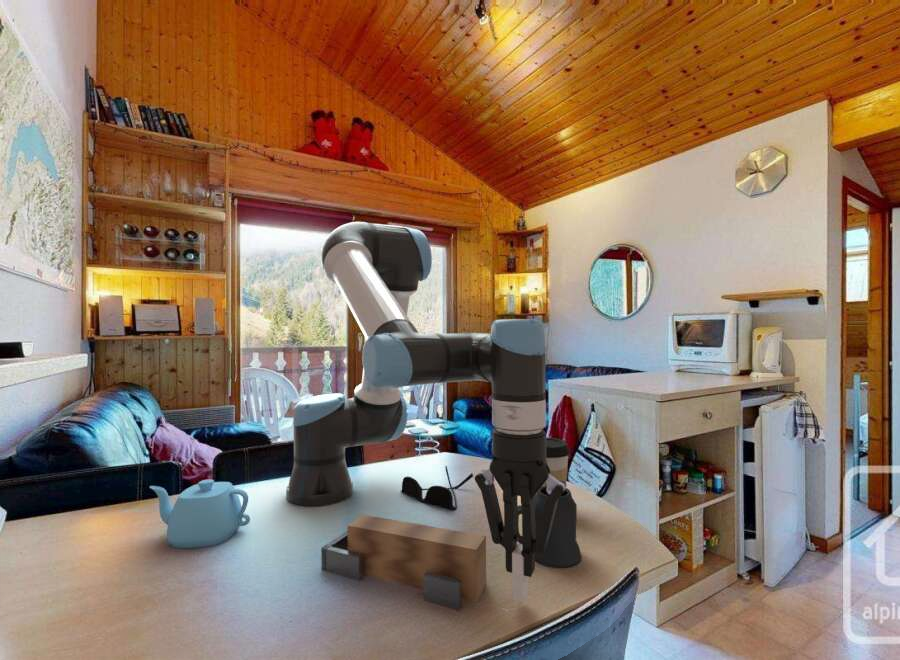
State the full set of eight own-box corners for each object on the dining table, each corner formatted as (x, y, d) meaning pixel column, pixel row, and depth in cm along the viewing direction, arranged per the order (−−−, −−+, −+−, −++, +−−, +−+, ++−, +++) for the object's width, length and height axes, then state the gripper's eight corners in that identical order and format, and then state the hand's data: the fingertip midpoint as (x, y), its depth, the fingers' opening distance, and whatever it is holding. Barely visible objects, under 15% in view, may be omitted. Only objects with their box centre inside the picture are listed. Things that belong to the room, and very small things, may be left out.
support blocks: (423, 602, 64) (423, 574, 64) (450, 571, 72) (450, 546, 72) (458, 612, 62) (458, 584, 62) (482, 579, 70) (481, 553, 70)
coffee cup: (566, 503, 99) (566, 437, 99) (574, 523, 89) (574, 448, 89) (522, 502, 100) (522, 436, 100) (525, 521, 90) (525, 448, 90)
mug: (569, 540, 82) (569, 480, 82) (590, 567, 73) (590, 499, 73) (506, 545, 81) (505, 483, 81) (519, 572, 72) (519, 503, 72)
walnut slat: (348, 574, 72) (347, 525, 72) (363, 560, 76) (362, 514, 76) (476, 605, 64) (476, 549, 64) (486, 588, 68) (485, 536, 68)
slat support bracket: (321, 572, 72) (321, 547, 72) (355, 547, 80) (355, 525, 80) (359, 583, 69) (358, 557, 69) (390, 556, 77) (390, 533, 77)
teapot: (166, 472, 90) (259, 468, 92) (166, 525, 90) (259, 520, 92) (129, 496, 77) (237, 490, 79) (130, 557, 77) (238, 550, 79)
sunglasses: (489, 495, 105) (489, 474, 105) (449, 515, 94) (449, 491, 94) (437, 479, 116) (437, 460, 116) (396, 496, 105) (396, 475, 105)
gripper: (465, 430, 62) (467, 598, 62) (560, 439, 56) (561, 624, 56) (485, 419, 68) (486, 572, 69) (570, 427, 63) (572, 592, 63)
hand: (520, 595), depth 62 cm, fingers closed
